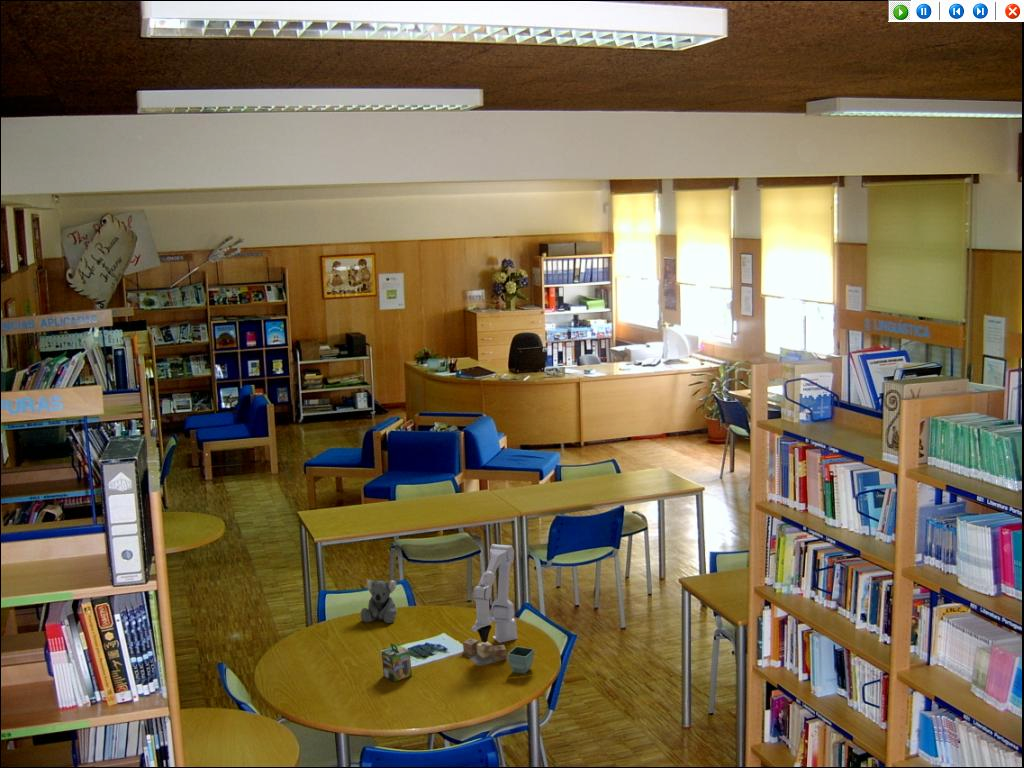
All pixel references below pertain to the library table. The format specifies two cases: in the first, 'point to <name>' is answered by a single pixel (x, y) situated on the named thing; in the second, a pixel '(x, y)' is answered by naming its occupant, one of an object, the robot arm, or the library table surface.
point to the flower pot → (521, 659)
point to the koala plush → (380, 602)
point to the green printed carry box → (396, 663)
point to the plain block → (484, 649)
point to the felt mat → (481, 659)
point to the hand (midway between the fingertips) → (484, 641)
